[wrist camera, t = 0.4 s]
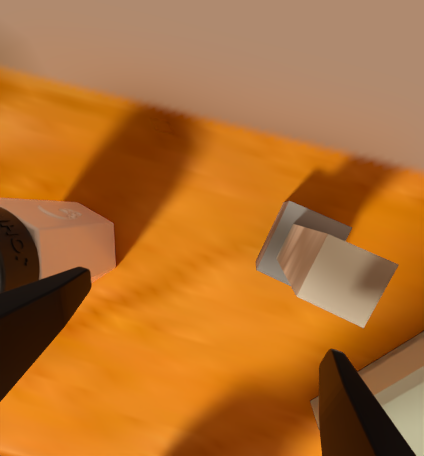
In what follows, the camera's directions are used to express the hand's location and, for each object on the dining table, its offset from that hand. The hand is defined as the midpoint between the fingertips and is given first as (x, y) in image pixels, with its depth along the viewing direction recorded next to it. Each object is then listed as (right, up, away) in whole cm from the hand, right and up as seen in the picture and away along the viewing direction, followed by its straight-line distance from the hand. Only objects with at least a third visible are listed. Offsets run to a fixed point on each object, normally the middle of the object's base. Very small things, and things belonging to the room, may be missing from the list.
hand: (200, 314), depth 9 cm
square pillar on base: (+8, +2, +14) cm, 16 cm away
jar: (-13, +1, +17) cm, 22 cm away
